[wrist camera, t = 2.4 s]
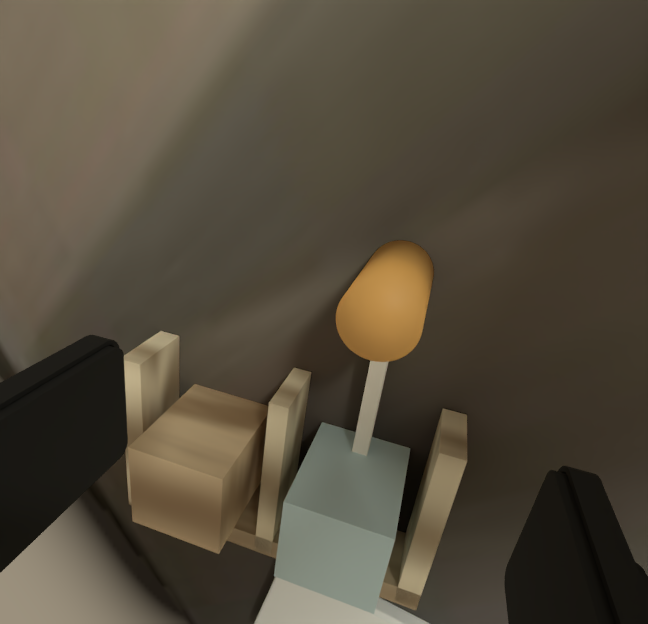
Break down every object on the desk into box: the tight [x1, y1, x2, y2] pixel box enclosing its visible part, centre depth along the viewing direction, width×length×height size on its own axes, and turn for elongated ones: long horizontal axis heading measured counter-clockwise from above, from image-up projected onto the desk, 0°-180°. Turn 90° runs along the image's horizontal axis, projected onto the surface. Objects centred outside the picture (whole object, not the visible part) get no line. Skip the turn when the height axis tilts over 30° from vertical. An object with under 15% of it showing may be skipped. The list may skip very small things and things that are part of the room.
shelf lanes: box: [124, 331, 467, 610], centre depth 25 cm, size 10×17×4 cm, turn 82°
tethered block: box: [274, 240, 434, 614], centre depth 21 cm, size 16×5×6 cm, turn 172°
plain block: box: [128, 384, 269, 554], centre depth 25 cm, size 5×5×6 cm
